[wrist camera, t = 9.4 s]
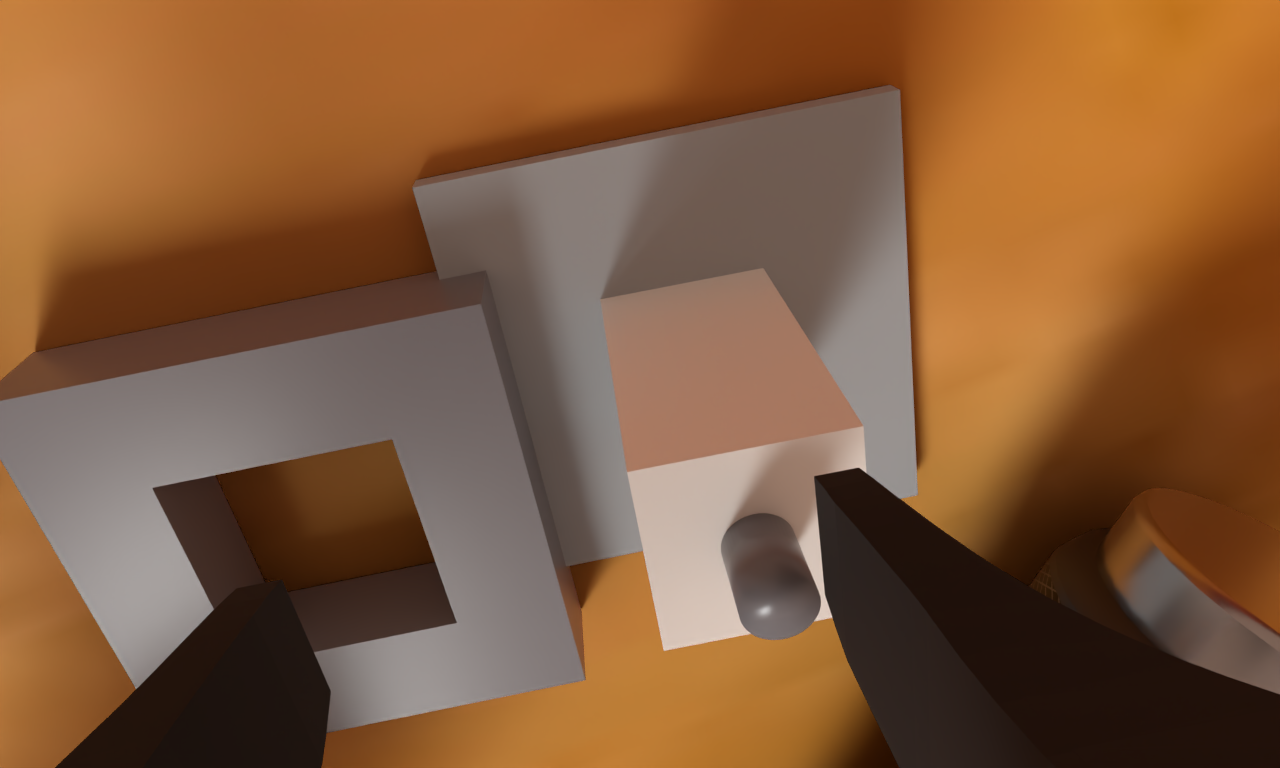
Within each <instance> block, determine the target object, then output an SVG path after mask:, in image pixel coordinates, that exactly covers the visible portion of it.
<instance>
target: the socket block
mask: <svg viewBox="0 0 1280 768" xmlns="http://www.w3.org/2000/svg"><path fill="white" fill-rule="evenodd" d="M391 439H392V441H393V443H394V446H395V449H396V452H397V455H398V458H399V460H400V463H401V466H402V469H403V472H404V475H405V477H406V480H407V483H408V486H409V489H410V492H411V494H412V497H413V500H414V503H415V506H416V509H417V511H418V514H419V517H420V520H421V523H422V526H423V528H424V531H425V534H426V537H427V540H428V543H429V545H430V548H431V551H432V554H433V557H434V560H435V562H433V563H428V564H423V565H418V566H413V567H409V568H404V569H399V570H394V571H389V572H384V573H379V574H374V575H369V576H364V577H359V578H354V579H350V580H345V581H340V582H335V583H330V584H325V585H320V586H315V587H310V588H305V589H300V590H295V591H291V592H288V594H289V597H290V599H291V601H292V604H293V606H294V608H295V610H296V613H297V615H298V617H299V619H300V622H301V624H302V626H303V629H304V631H305V633H306V635H307V638H308V640H309V642H310V645H311V647H312V649H313V651H314V654H315V656H316V658H317V661H318V663H319V665H320V667H321V670H322V672H323V674H324V677H325V679H326V681H327V683H328V686H329V688H330V690H331V696H330V705H329V714H328V724H327V732H326V733H328V732H333V731H338V730H343V729H348V728H353V727H358V726H363V725H368V724H373V723H377V722H382V721H387V720H392V719H397V718H402V717H407V716H412V715H417V714H422V713H426V712H431V711H436V710H441V709H446V708H451V707H456V706H461V705H466V704H471V703H475V702H480V701H485V700H490V699H495V698H500V697H505V696H510V695H515V694H520V693H524V692H529V691H534V690H539V689H544V688H549V687H554V686H559V685H564V684H569V683H573V682H578V681H583V680H586V679H585V662H584V645H583V628H582V611H581V607H580V604H579V600H578V596H577V592H576V589H575V585H574V581H573V577H572V574H571V570H570V566H567V567H566V564H565V560H564V557H563V553H562V549H561V545H560V542H559V538H558V534H557V531H556V527H555V523H554V520H553V516H552V512H551V508H550V505H549V501H548V497H547V494H546V490H545V486H544V483H543V479H542V475H541V471H540V468H539V464H538V460H537V457H536V453H535V449H534V446H533V442H532V438H531V434H530V431H529V427H528V423H527V420H526V416H525V412H524V409H523V405H522V401H521V397H520V394H519V390H518V386H517V383H516V379H515V375H514V372H513V368H512V364H511V360H510V357H509V353H508V349H507V346H506V342H505V338H504V335H503V331H502V327H501V323H500V320H499V316H498V312H497V309H496V305H495V301H494V298H493V294H492V290H491V286H490V283H489V279H488V275H487V272H486V270H485V271H480V272H475V273H470V274H465V275H460V276H456V277H451V278H446V279H441V280H439V276H438V273H437V271H435V272H430V273H425V274H420V275H415V276H410V277H405V278H400V279H395V280H390V281H385V282H381V283H376V284H371V285H366V286H361V287H356V288H351V289H346V290H341V291H336V292H331V293H326V294H321V295H316V296H311V297H306V298H301V299H296V300H291V301H286V302H281V303H276V304H271V305H267V306H262V307H257V308H252V309H247V310H242V311H237V312H232V313H227V314H222V315H217V316H212V317H207V318H202V319H197V320H192V321H187V322H182V323H177V324H172V325H167V326H162V327H157V328H152V329H148V330H143V331H138V332H133V333H128V334H123V335H118V336H113V337H108V338H103V339H98V340H93V341H88V342H83V343H78V344H73V345H68V346H63V347H58V348H53V349H48V350H43V351H38V352H33V353H32V354H31V355H30V356H29V357H27V358H26V359H25V360H24V361H23V362H22V363H20V364H19V365H18V366H17V367H16V368H15V369H13V370H12V371H11V372H10V373H9V374H8V375H6V376H5V377H4V378H3V379H2V380H1V381H0V460H1V461H2V463H3V465H4V466H5V468H6V470H7V471H8V473H9V475H10V477H11V478H12V480H13V482H14V483H15V485H16V487H17V488H18V490H19V492H20V493H21V495H22V497H23V499H24V500H25V502H26V504H27V505H28V507H29V509H30V510H31V512H32V514H33V515H34V517H35V519H36V520H37V522H38V524H39V526H40V527H41V529H42V531H43V532H44V534H45V536H46V537H47V539H48V541H49V542H50V544H51V546H52V548H53V549H54V551H55V553H56V554H57V556H58V558H59V559H60V561H61V563H62V564H63V566H64V568H65V570H66V571H67V573H68V575H69V576H70V578H71V580H72V581H73V583H74V585H75V586H76V588H77V590H78V592H79V593H80V595H81V597H82V598H83V600H84V602H85V603H86V605H87V607H88V608H89V610H90V612H91V613H92V615H93V617H94V619H95V620H96V622H97V624H98V625H99V627H100V629H101V630H102V632H103V634H104V635H105V637H106V639H107V641H108V642H109V644H110V646H111V647H112V649H113V651H114V652H115V654H116V656H117V657H118V659H119V661H120V663H121V664H122V666H123V668H124V669H125V671H126V673H127V674H128V676H129V678H130V679H131V681H132V683H133V684H134V686H135V688H136V689H137V688H138V687H139V686H140V685H141V684H142V683H143V682H144V681H145V680H146V679H147V678H148V677H149V676H150V675H151V674H152V673H153V672H154V671H155V670H156V669H157V668H158V667H159V665H160V664H161V663H162V662H163V661H164V660H165V659H166V658H167V657H168V656H169V655H170V654H171V653H172V652H173V651H174V650H175V649H176V648H177V647H178V646H179V645H180V644H181V643H182V642H183V641H184V640H185V639H186V638H187V637H188V636H189V635H190V633H191V632H192V631H193V630H194V629H195V628H196V627H197V626H198V625H199V624H200V623H201V622H202V621H203V620H204V619H205V618H206V617H207V616H208V615H209V614H210V613H211V612H212V611H213V610H214V609H215V608H216V607H217V606H218V605H219V604H220V603H221V602H222V601H223V600H224V599H225V598H227V597H228V596H229V595H230V594H231V593H232V592H233V591H234V590H235V589H237V588H240V587H245V586H251V585H256V584H261V583H265V581H264V579H263V577H262V574H261V572H260V570H259V568H258V566H257V564H256V562H255V559H254V557H253V555H252V553H251V551H250V549H249V547H248V544H247V542H246V540H245V538H244V536H243V534H242V532H241V530H240V527H239V525H238V523H237V521H236V519H235V517H234V515H233V512H232V510H231V508H230V506H229V504H228V502H227V500H226V497H225V495H224V493H223V491H222V489H221V487H220V485H219V482H218V480H217V478H216V476H215V475H219V474H223V473H228V472H233V471H238V470H243V469H248V468H253V467H258V466H263V465H268V464H273V463H278V462H283V461H288V460H293V459H298V458H302V457H307V456H312V455H317V454H322V453H327V452H332V451H337V450H342V449H347V448H352V447H357V446H362V445H367V444H372V443H377V442H381V441H386V440H391Z"/></svg>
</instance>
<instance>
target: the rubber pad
mask: <svg viewBox="0 0 1280 768" xmlns="http://www.w3.org/2000/svg"><path fill="white" fill-rule="evenodd" d="M412 189H413V192H414V195H415V199H416V202H417V205H418V209H419V212H420V216H421V219H422V222H423V226H424V229H425V232H426V236H427V239H428V242H429V246H430V249H431V253H432V256H433V259H434V263H435V266H436V269H437V273H438V276H439V280H441V279H446V278H451V277H456V276H460V275H465V274H470V273H475V272H480V271H485V270H486V272H487V275H488V279H489V283H490V286H491V290H492V294H493V298H494V301H495V305H496V309H497V312H498V316H499V320H500V323H501V327H502V331H503V335H504V338H505V342H506V346H507V349H508V353H509V357H510V360H511V364H512V368H513V372H514V375H515V379H516V383H517V386H518V390H519V394H520V397H521V401H522V405H523V409H524V412H525V416H526V420H527V423H528V427H529V431H530V434H531V438H532V442H533V446H534V449H535V453H536V457H537V460H538V464H539V468H540V471H541V475H542V479H543V483H544V486H545V490H546V494H547V497H548V501H549V505H550V508H551V512H552V516H553V520H554V523H555V527H556V531H557V534H558V538H559V542H560V545H561V549H562V553H563V557H564V560H565V564H566V567H567V566H571V565H576V564H581V563H586V562H591V561H596V560H601V559H606V558H611V557H616V556H621V555H625V554H630V553H635V552H640V551H643V547H642V542H641V538H640V533H639V528H638V523H637V518H636V513H635V509H634V504H633V499H632V494H631V489H630V484H629V480H628V475H627V469H626V463H625V456H624V450H623V443H622V437H621V430H620V424H619V418H618V411H617V405H616V398H615V392H614V385H613V379H612V372H611V366H610V360H609V353H608V347H607V340H606V334H605V327H604V321H603V314H602V308H601V302H600V299H605V298H610V297H615V296H620V295H626V294H631V293H636V292H641V291H646V290H651V289H657V288H662V287H667V286H672V285H677V284H683V283H688V282H693V281H698V280H703V279H709V278H714V277H719V276H724V275H729V274H734V273H740V272H745V271H750V270H755V269H760V268H764V270H765V272H766V273H767V275H768V276H769V278H770V279H771V281H772V283H773V284H774V286H775V287H776V289H777V291H778V292H779V294H780V295H781V297H782V298H783V300H784V302H785V303H786V305H787V306H788V308H789V309H790V311H791V313H792V314H793V316H794V317H795V319H796V320H797V322H798V324H799V325H800V327H801V328H802V330H803V331H804V333H805V335H806V336H807V338H808V339H809V341H810V343H811V344H812V346H813V347H814V349H815V350H816V352H817V354H818V355H819V357H820V358H821V360H822V361H823V363H824V365H825V366H826V368H827V369H828V371H829V372H830V374H831V376H832V377H833V379H834V380H835V382H836V383H837V385H838V387H839V388H840V390H841V391H842V393H843V394H844V396H845V398H846V399H847V401H848V402H849V404H850V406H851V407H852V409H853V410H854V412H855V413H856V415H857V417H858V418H859V420H860V421H861V423H862V424H863V426H864V441H865V457H866V473H867V474H868V475H870V476H871V477H872V478H874V479H875V480H876V481H878V482H879V483H880V484H881V485H883V486H884V487H885V488H887V489H888V490H889V491H890V492H892V493H893V494H894V495H896V496H897V497H898V498H900V499H901V498H906V497H911V496H915V495H918V489H917V466H916V443H915V420H914V398H913V375H912V352H911V329H910V306H909V283H908V260H907V237H906V215H905V192H904V169H903V146H902V123H901V100H900V89H898V88H896V87H894V86H892V85H886V86H881V87H876V88H871V89H866V90H861V91H857V92H852V93H847V94H842V95H837V96H832V97H827V98H822V99H817V100H812V101H807V102H802V103H797V104H792V105H787V106H782V107H777V108H772V109H767V110H762V111H757V112H752V113H747V114H742V115H737V116H732V117H727V118H722V119H717V120H712V121H707V122H702V123H697V124H692V125H688V126H683V127H678V128H673V129H668V130H663V131H658V132H653V133H648V134H643V135H638V136H633V137H628V138H623V139H618V140H613V141H608V142H603V143H598V144H593V145H588V146H583V147H578V148H573V149H568V150H563V151H558V152H553V153H548V154H543V155H538V156H533V157H528V158H523V159H518V160H514V161H509V162H504V163H499V164H494V165H489V166H484V167H479V168H474V169H469V170H464V171H459V172H454V173H449V174H444V175H439V176H434V177H429V178H424V179H419V180H416V181H415V183H414V185H413V187H412Z"/></svg>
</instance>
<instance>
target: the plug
mask: <svg viewBox="0 0 1280 768" xmlns="http://www.w3.org/2000/svg"><path fill="white" fill-rule="evenodd" d="M600 302H601V308H602V314H603V321H604V327H605V334H606V340H607V347H608V353H609V360H610V366H611V372H612V379H613V385H614V392H615V398H616V405H617V411H618V418H619V424H620V430H621V437H622V443H623V450H624V456H625V463H626V469H627V475H628V480H629V484H630V489H631V494H632V499H633V504H634V509H635V513H636V518H637V523H638V528H639V533H640V538H641V542H642V547H643V552H644V557H645V562H646V567H647V571H648V576H649V581H650V586H651V591H652V596H653V600H654V605H655V610H656V615H657V620H658V625H659V629H660V634H661V639H662V644H663V649H664V651H666V650H671V649H676V648H681V647H686V646H691V645H696V644H701V643H706V642H711V641H716V640H722V639H727V638H732V637H737V636H742V635H747V634H753V635H754V636H757V637H759V638H763V639H768V640H780V639H785V638H789V637H792V636H795V635H797V634H799V633H801V632H802V631H804V630H805V629H807V628H808V627H809V626H810V625H811V624H812V623H813V622H814V621H818V620H823V619H828V618H832V615H831V612H830V609H829V606H828V603H827V600H826V597H825V591H824V580H823V569H822V558H821V547H820V537H819V526H818V515H817V504H816V493H815V482H814V476H817V475H823V474H828V473H833V472H838V471H843V470H848V469H854V468H860V469H862V470H863V471H864V472H866V457H865V441H864V426H863V424H862V423H861V421H860V420H859V418H858V417H857V415H856V413H855V412H854V410H853V409H852V407H851V406H850V404H849V402H848V401H847V399H846V398H845V396H844V394H843V393H842V391H841V390H840V388H839V387H838V385H837V383H836V382H835V380H834V379H833V377H832V376H831V374H830V372H829V371H828V369H827V368H826V366H825V365H824V363H823V361H822V360H821V358H820V357H819V355H818V354H817V352H816V350H815V349H814V347H813V346H812V344H811V343H810V341H809V339H808V338H807V336H806V335H805V333H804V331H803V330H802V328H801V327H800V325H799V324H798V322H797V320H796V319H795V317H794V316H793V314H792V313H791V311H790V309H789V308H788V306H787V305H786V303H785V302H784V300H783V298H782V297H781V295H780V294H779V292H778V291H777V289H776V287H775V286H774V284H773V283H772V281H771V279H770V278H769V276H768V275H767V273H766V272H765V270H764V268H760V269H755V270H750V271H745V272H740V273H734V274H729V275H724V276H719V277H714V278H709V279H703V280H698V281H693V282H688V283H683V284H677V285H672V286H667V287H662V288H657V289H651V290H646V291H641V292H636V293H631V294H626V295H620V296H615V297H610V298H605V299H600Z"/></svg>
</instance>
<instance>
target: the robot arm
mask: <svg viewBox="0 0 1280 768" xmlns="http://www.w3.org/2000/svg"><path fill="white" fill-rule="evenodd" d="M814 482H815V493H816V504H817V515H818V526H819V537H820V547H821V558H822V569H823V580H824V591H825V597H826V600H827V603H828V606H829V609H830V612H831V615H832V618H833V621H834V624H835V627H836V630H837V632H838V635H839V638H840V641H841V644H842V647H843V649H844V652H845V655H846V658H847V661H848V663H849V665H850V667H851V669H852V671H853V673H854V676H855V678H856V680H857V682H858V684H859V686H860V688H861V690H862V692H863V694H864V696H865V698H866V700H867V703H868V705H869V707H870V709H871V711H872V713H873V715H874V717H875V719H876V721H877V723H878V725H879V727H880V729H881V731H882V733H883V735H884V737H885V739H886V742H887V744H888V746H889V748H890V750H891V752H892V754H893V756H894V758H895V760H896V762H897V764H898V766H899V768H1280V694H1277V693H1274V692H1271V691H1268V690H1265V689H1262V688H1260V687H1257V686H1254V685H1251V684H1248V683H1245V682H1242V681H1239V680H1236V679H1233V678H1230V677H1227V676H1224V675H1222V674H1219V673H1216V672H1214V671H1211V670H1208V669H1206V668H1203V667H1200V666H1198V665H1195V664H1192V663H1190V662H1187V661H1185V660H1182V659H1180V658H1177V657H1175V656H1173V655H1170V654H1168V653H1165V652H1163V651H1161V650H1158V649H1156V648H1153V647H1151V646H1149V645H1146V644H1144V643H1142V642H1139V641H1137V640H1134V639H1132V638H1130V637H1128V636H1125V635H1123V634H1121V633H1119V632H1117V631H1114V630H1112V629H1110V628H1108V627H1106V626H1104V625H1102V624H1099V623H1097V622H1095V621H1093V620H1092V619H1090V618H1088V617H1086V616H1084V615H1082V614H1080V613H1078V612H1076V611H1074V610H1072V609H1070V608H1068V607H1066V606H1064V605H1062V604H1060V603H1058V602H1056V601H1054V600H1052V599H1050V598H1049V597H1047V596H1045V595H1043V594H1041V593H1040V592H1038V591H1036V590H1034V589H1032V588H1031V587H1029V586H1027V585H1025V584H1024V583H1022V582H1020V581H1019V580H1017V579H1016V578H1014V577H1012V576H1011V575H1009V574H1007V573H1006V572H1004V571H1002V570H1001V569H999V568H997V567H996V566H994V565H993V564H991V563H989V562H988V561H986V560H985V559H983V558H982V557H980V556H979V555H977V554H976V553H974V552H973V551H971V550H970V549H968V548H967V547H965V546H964V545H963V544H961V543H960V542H958V541H957V540H955V539H954V538H953V537H951V536H950V535H948V534H947V533H945V532H944V531H942V530H941V529H940V528H938V527H937V526H936V525H934V524H933V523H931V522H930V521H929V520H927V519H926V518H925V517H923V516H922V515H921V514H919V513H918V512H917V511H915V510H914V509H913V508H911V507H910V506H909V505H907V504H906V503H905V502H903V501H902V500H901V499H900V498H898V497H897V496H896V495H894V494H893V493H892V492H890V491H889V490H888V489H887V488H885V487H884V486H883V485H881V484H880V483H879V482H878V481H876V480H875V479H874V478H872V477H871V476H870V475H868V474H867V473H866V472H864V471H863V470H862V469H860V468H854V469H848V470H843V471H838V472H833V473H828V474H823V475H817V476H814ZM330 696H331V690H330V688H329V686H328V683H327V681H326V679H325V677H324V674H323V672H322V670H321V667H320V665H319V663H318V661H317V658H316V656H315V654H314V651H313V649H312V647H311V645H310V642H309V640H308V638H307V635H306V633H305V631H304V629H303V626H302V624H301V622H300V619H299V617H298V615H297V613H296V610H295V608H294V606H293V604H292V601H291V599H290V597H289V594H288V592H287V590H286V588H285V585H284V583H283V581H282V580H276V581H271V582H266V583H261V584H256V585H251V586H245V587H240V588H237V589H235V590H234V591H233V592H232V593H231V594H230V595H229V596H228V597H227V598H225V599H224V600H223V601H222V602H221V603H220V604H219V605H218V606H217V607H216V608H215V609H214V610H213V611H212V612H211V613H210V614H209V615H208V616H207V617H206V618H205V619H204V620H203V621H202V622H201V623H200V624H199V625H198V626H197V627H196V628H195V629H194V630H193V631H192V632H191V633H190V635H189V636H188V637H187V638H186V639H185V640H184V641H183V642H182V643H181V644H180V645H179V646H178V647H177V648H176V649H175V650H174V651H173V652H172V653H171V654H170V655H169V656H168V657H167V658H166V659H165V660H164V661H163V662H162V663H161V664H160V665H159V667H158V668H157V669H156V670H155V671H154V672H153V673H152V674H151V675H150V676H149V677H148V678H147V679H146V680H145V681H144V682H143V683H142V684H141V685H140V686H139V687H138V688H137V689H136V690H135V691H134V692H133V693H132V694H131V695H130V696H129V697H128V698H127V699H126V700H125V701H124V702H123V703H122V704H121V705H120V706H119V707H118V708H117V709H116V710H115V711H114V712H113V713H112V714H111V715H110V716H109V717H108V718H107V719H106V720H105V721H104V722H102V723H101V724H100V725H99V726H98V727H97V728H96V729H95V730H94V731H93V732H92V733H91V734H90V735H89V736H88V737H87V738H86V739H85V740H84V741H83V742H81V743H80V744H79V745H78V746H77V747H76V748H75V749H74V750H73V751H72V752H71V753H70V754H69V755H68V756H67V757H66V758H65V759H64V760H63V761H62V762H61V763H59V764H58V765H57V766H56V767H55V768H321V766H322V761H323V754H324V747H325V739H326V732H327V724H328V714H329V705H330Z"/></svg>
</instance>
